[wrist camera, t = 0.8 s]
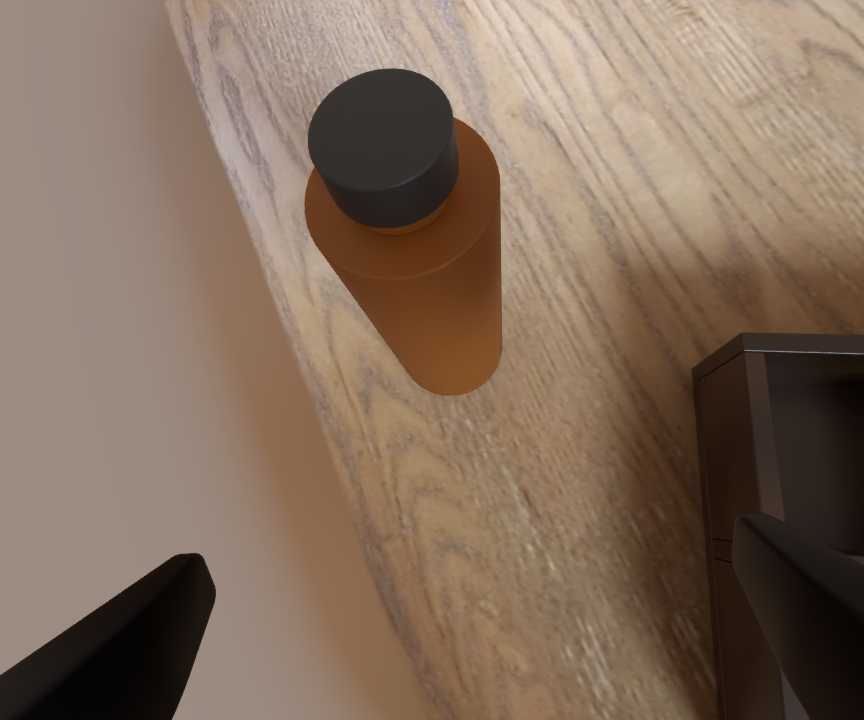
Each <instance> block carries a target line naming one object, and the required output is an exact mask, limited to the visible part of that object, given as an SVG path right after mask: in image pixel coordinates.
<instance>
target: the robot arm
mask: <svg viewBox="0 0 864 720" xmlns="http://www.w3.org/2000/svg"><path fill="white" fill-rule="evenodd" d="M731 557H732V564H733V567H734V570H735V573H736V575H737V577H738V579H739V581H740V583H741V586H742V588H743V590H744V592H745V594H746V596H747V598H748V600H749V603H750V605H751V607H752V609H753V611H754V613H755V615H756V617H757V620H758V622H759V624H760V626H761V628H762V630H763V632H764V635H765V637H766V639H767V641H768V643H769V645H770V647H771V649H772V652H773V654H774V656H775V658H776V660H777V662H778V664H779V666H780V668H781V670H782V672H783V674H784V675H785V677H786V679H787V681H788V683H789V684H790V686H791V688H792V690H793V691H794V693H795V695H796V696H797V698H798V700H799V702H800V703H801V705H802V707H803V708H804V710H805V712H806V713H807V715H808V717H809V718H810V720H864V565H863V564H861V563H859V562H857V561H856V560H854V559H852V558H850V557H848V556H846V555H844V554H842V553H841V552H839V551H837V550H835V549H833V548H831V547H829V546H827V545H826V544H824V543H822V542H820V541H818V540H816V539H814V538H812V537H811V536H809V535H807V534H805V533H803V532H801V531H799V530H797V529H796V528H794V527H792V526H790V525H788V524H786V523H784V522H782V521H781V520H779V519H777V518H775V517H773V516H771V515H769V514H766V513H755V514H742V515H739V516H738V517H737V518H736V519H735V523H734V533H733V543H732V553H731ZM215 597H216V589H215V585H214V583H213V580H212V577H211V575H210V572H209V570H208V568H207V565H206V563H205V560H204V558H203V557H202V556H201V555H200V554H197V553H189V554H179V555H175V556H173V557H172V558H170V559H169V560H167V561H166V562H165V563H163V564H162V565H160V566H159V567H157V568H156V569H154V570H153V571H151V572H150V573H149V574H147V575H146V576H144V577H143V578H141V579H140V580H138V581H137V582H135V583H134V584H132V585H131V586H130V587H128V588H127V589H125V590H124V591H122V592H121V593H119V594H118V595H117V596H115V597H114V598H112V599H111V600H109V601H108V602H106V603H105V604H103V605H102V606H100V607H99V608H98V609H96V610H95V611H93V612H92V613H90V614H89V615H87V616H86V617H84V618H83V619H82V620H80V621H79V622H77V623H76V624H74V625H73V626H71V627H70V628H68V629H67V630H66V631H64V632H63V633H61V634H60V635H58V636H57V637H55V638H54V639H52V640H51V641H50V642H48V643H47V644H45V645H44V646H42V647H41V648H39V649H38V650H36V651H35V652H33V653H32V654H31V655H29V656H28V657H26V658H25V659H23V660H22V661H20V662H19V663H17V664H16V665H15V666H13V667H12V668H10V669H9V670H7V671H6V672H4V673H3V674H2V675H0V720H172V718H173V716H174V714H175V711H176V709H177V707H178V704H179V702H180V699H181V697H182V694H183V692H184V689H185V687H186V684H187V681H188V679H189V676H190V673H191V670H192V667H193V664H194V661H195V658H196V655H197V652H198V650H199V647H200V643H201V641H202V638H203V635H204V632H205V629H206V626H207V623H208V620H209V617H210V614H211V611H212V608H213V605H214V602H215Z"/></svg>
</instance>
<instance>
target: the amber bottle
mask: <svg viewBox="0 0 864 720" xmlns="http://www.w3.org/2000/svg"><path fill="white" fill-rule="evenodd" d="M308 149H309V154H310V157H311V159H312V162H313V164H314V166H315V167H314V169H313V171H312V173H311V176H310V178H309V181H308V185H307V189H306V194H305V217H306V222H307V227H308V229H309V232H310V235H311V237H312V239H313V241H314V242H315V244H316V246H317V247H318V249H319V250H320V251H321V253H322V254H323V256H324V257H325V258H326V260H327V261H328V262H329V264H330V265H331V267H332V268H333V269H334V271H335V272H336V274H337V275H338V276H339V278H340V279H341V281H342V282H343V283H344V285H345V286H346V287H347V289H348V290H349V292H350V293H351V294H352V296H353V297H354V299H355V300H356V301H357V303H358V304H359V305H360V307H361V308H362V310H363V311H364V312H365V314H366V315H367V317H368V318H369V319H370V321H371V322H372V324H373V325H374V326H375V328H376V329H377V330H378V332H379V333H380V335H381V336H382V337H383V339H384V340H385V342H386V343H387V344H388V346H389V347H390V348H391V350H392V351H393V353H394V354H395V355H396V357H397V358H398V360H399V361H400V362H401V364H402V365H403V367H404V368H405V369H406V371H407V372H408V373H409V375H410V376H411V377H412V379H413V380H414V381H415V382H416V383H417V384H419V385H420V386H421V387H423V388H424V389H426V390H428V391H430V392H433V393H436V394H440V395H460V394H464V393H467V392H470V391H472V390H474V389H476V388H478V387H480V386H481V385H482V384H483V383H485V382H486V381H487V380H488V379H489V378H490V377H491V375H492V374H493V373H494V371H495V369H496V368H497V366H498V363H499V361H500V357H501V352H502V303H501V211H500V175H499V170H498V166H497V163H496V160H495V157H494V155H493V153H492V152H491V150H490V148H489V146H488V145H487V144H486V142H485V141H484V140H483V138H482V137H481V136H480V135H479V134H478V133H477V132H476V131H475V130H474V129H472V128H471V127H470V126H468V125H467V124H465V123H464V122H462V121H460V120H458V119H456V118H454V117H453V113H452V108H451V105H450V102H449V100H448V99H447V97H446V95H445V94H444V92H443V91H442V90H441V89H440V87H439V86H438V85H437V84H435V83H434V82H433V81H432V80H430V79H429V78H427V77H425V76H423V75H421V74H419V73H416V72H413V71H409V70H404V69H379V70H374V71H369V72H366V73H363V74H360V75H357V76H355V77H353V78H351V79H349V80H347V81H345V82H344V83H342V84H341V85H339V86H338V87H336V88H335V89H334V90H333V91H332V92H331V93H329V94H328V95H327V97H326V98H325V99H324V100H323V101H322V102H321V104H320V105H319V106H318V108H317V110H316V111H315V113H314V115H313V118H312V120H311V123H310V127H309V132H308Z"/></svg>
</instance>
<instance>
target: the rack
mask: <svg viewBox="0 0 864 720" xmlns="http://www.w3.org/2000/svg"><path fill="white" fill-rule="evenodd" d="M692 372H693V385H694V398H695V411H696V424H697V437H698V450H699V463H700V476H701V488H702V501H703V514H704V527H705V540H706V553H707V566H708V579H709V592H710V605H711V617H712V630H713V643H714V656H715V669H716V682H717V695H718V708H719V720H810V718H809V717H808V715H807V713H806V712H805V710H804V708H803V707H802V705H801V703H800V702H799V700H798V698H797V696H796V695H795V693H794V691H793V690H792V688H791V686H790V684H789V683H788V681H787V679H786V677H785V675H784V674H783V672H782V670H781V668H780V666H779V664H778V662H777V660H776V658H775V656H774V654H773V652H772V649H771V647H770V645H769V643H768V641H767V639H766V637H765V635H764V632H763V630H762V628H761V626H760V624H759V622H758V620H757V617H756V615H755V613H754V611H753V609H752V607H751V605H750V603H749V600H748V598H747V596H746V594H745V592H744V590H743V588H742V586H741V583H740V581H739V579H738V577H737V575H736V573H735V570H734V567H733V564H732V557H731V553H732V543H733V533H734V523H735V519H736V518H737V517H738V516H739V515H742V514H755V513H766V514H769V515H771V516H773V517H775V518H777V519H779V520H781V521H782V522H784V523H786V524H788V525H790V526H792V527H794V528H796V529H797V530H799V531H801V532H803V533H805V534H807V535H809V536H811V537H812V538H814V539H816V540H818V541H820V542H822V543H824V544H826V545H827V546H829V547H831V548H833V549H835V550H837V551H839V552H841V553H842V554H844V555H846V556H848V557H850V558H852V559H854V560H856V561H857V562H859V563H861V564H863V565H864V335H832V334H788V333H745V332H742V333H740V334H739V335H737V336H736V337H734V338H733V339H732V340H730V341H729V342H728V343H726V344H725V345H723V346H722V347H721V348H719V349H718V350H717V351H715V352H714V353H712V354H711V355H710V356H708V357H707V358H706V359H704V360H703V361H702V362H700V363H699V364H698V365H696V366H695V367H693V368H692Z"/></svg>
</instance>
